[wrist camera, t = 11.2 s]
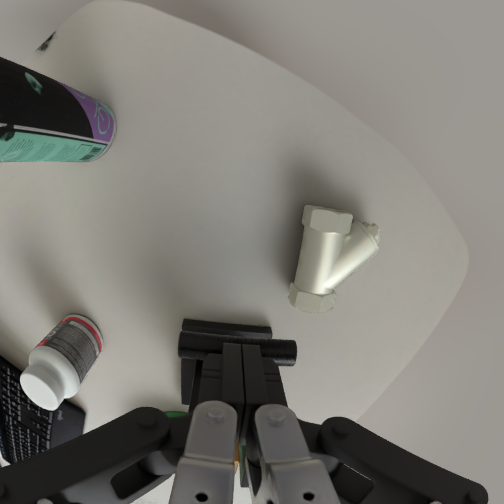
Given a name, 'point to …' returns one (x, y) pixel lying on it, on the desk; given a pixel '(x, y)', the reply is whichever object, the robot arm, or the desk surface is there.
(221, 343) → the faucet lever
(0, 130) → the spray can
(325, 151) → the desk surface
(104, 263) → the desk surface
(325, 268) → the pipe fitting
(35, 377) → the pill bottle
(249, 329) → the black mounting base
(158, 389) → the desk surface
